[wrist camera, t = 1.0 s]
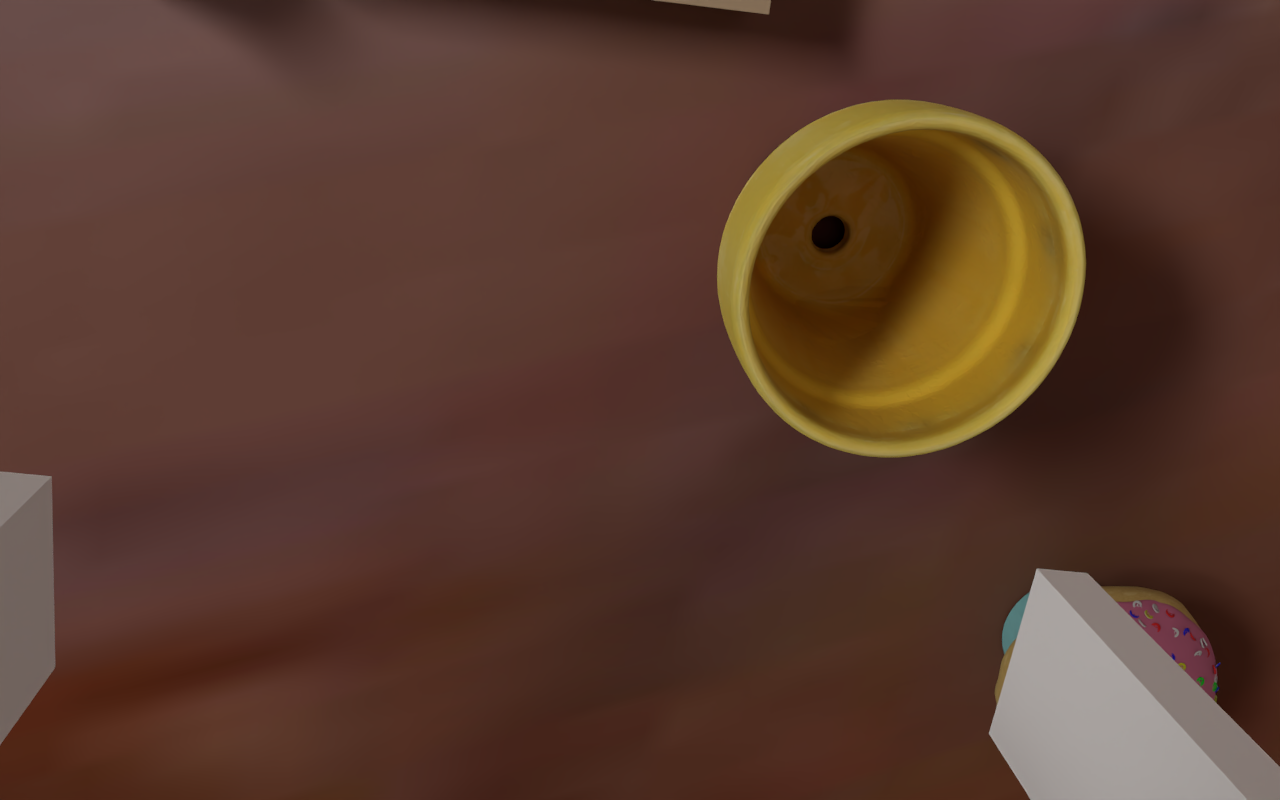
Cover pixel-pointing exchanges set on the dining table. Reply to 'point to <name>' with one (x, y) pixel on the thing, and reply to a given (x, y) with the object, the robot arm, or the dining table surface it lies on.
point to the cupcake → (1157, 619)
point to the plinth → (729, 4)
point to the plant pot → (901, 277)
